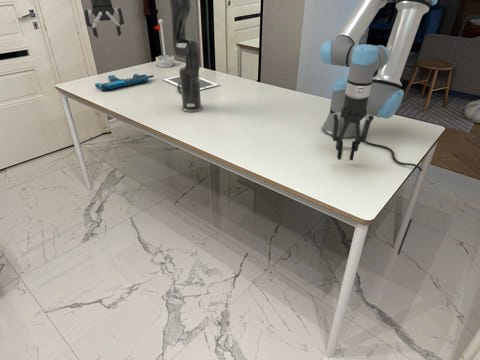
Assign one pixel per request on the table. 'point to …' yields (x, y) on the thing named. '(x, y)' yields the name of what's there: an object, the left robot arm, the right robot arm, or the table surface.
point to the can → (346, 153)
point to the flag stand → (165, 60)
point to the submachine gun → (122, 81)
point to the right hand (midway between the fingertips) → (344, 158)
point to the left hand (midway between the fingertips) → (108, 36)
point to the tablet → (203, 82)
